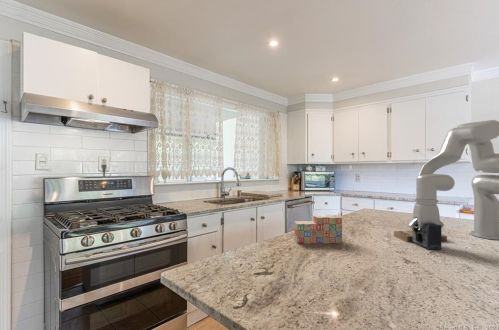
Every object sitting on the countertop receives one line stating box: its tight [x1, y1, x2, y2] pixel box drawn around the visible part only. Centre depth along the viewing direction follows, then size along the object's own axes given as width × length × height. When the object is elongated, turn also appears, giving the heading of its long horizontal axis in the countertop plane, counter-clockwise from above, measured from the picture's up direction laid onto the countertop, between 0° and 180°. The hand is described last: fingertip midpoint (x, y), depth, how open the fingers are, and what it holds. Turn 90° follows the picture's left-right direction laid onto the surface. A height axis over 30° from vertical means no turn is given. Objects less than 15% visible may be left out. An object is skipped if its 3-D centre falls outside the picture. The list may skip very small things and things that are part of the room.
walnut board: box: [393, 230, 448, 243], centre depth 124 cm, size 20×10×3 cm, turn 94°
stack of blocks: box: [293, 214, 343, 244], centre depth 120 cm, size 21×6×12 cm, turn 93°
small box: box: [411, 224, 443, 250], centre depth 113 cm, size 11×6×10 cm, turn 1°
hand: (426, 241), depth 113 cm, fingers closed on small box, 6 cm apart
